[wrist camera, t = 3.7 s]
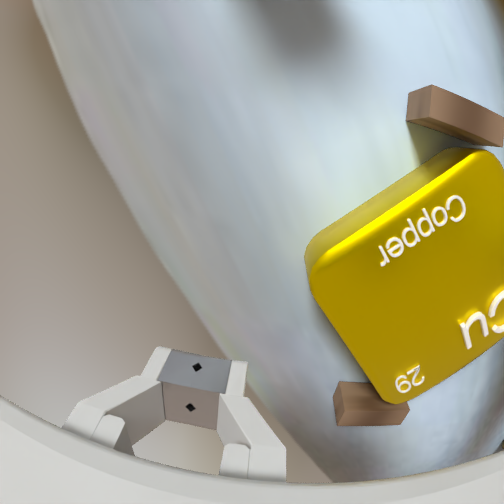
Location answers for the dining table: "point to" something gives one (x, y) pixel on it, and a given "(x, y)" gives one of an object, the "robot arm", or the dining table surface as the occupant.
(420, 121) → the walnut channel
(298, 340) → the dining table surface
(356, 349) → the element tile
